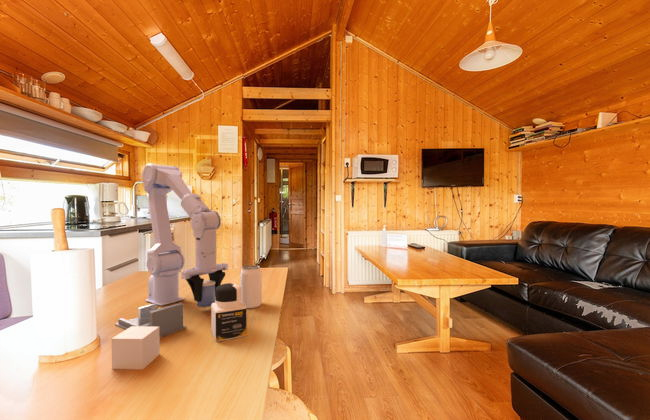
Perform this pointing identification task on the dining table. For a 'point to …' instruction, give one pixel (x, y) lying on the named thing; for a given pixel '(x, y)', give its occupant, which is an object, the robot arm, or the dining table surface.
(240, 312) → the medicine bottle
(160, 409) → the dining table surface
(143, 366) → the pale pink cube
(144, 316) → the plate
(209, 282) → the jar
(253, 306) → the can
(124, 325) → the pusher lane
